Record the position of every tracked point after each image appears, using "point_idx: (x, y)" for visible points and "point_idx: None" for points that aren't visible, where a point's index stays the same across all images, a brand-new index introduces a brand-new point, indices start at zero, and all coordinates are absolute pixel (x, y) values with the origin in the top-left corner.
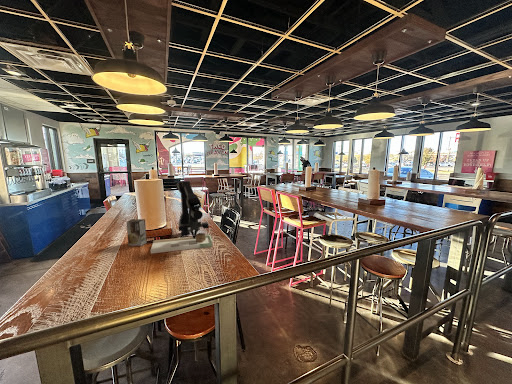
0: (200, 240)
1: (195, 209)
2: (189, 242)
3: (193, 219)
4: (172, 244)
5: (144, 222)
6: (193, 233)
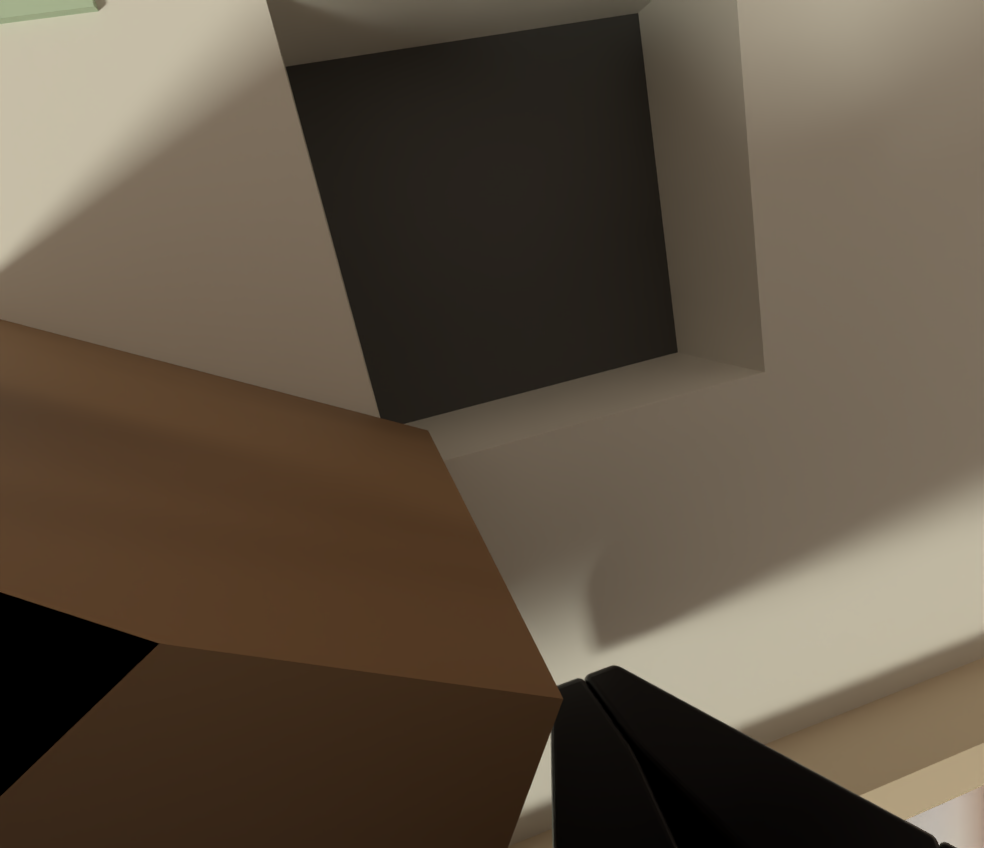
0: (64, 369)
1: None
2: (740, 376)
3: None
4: None
5: None
6: None
